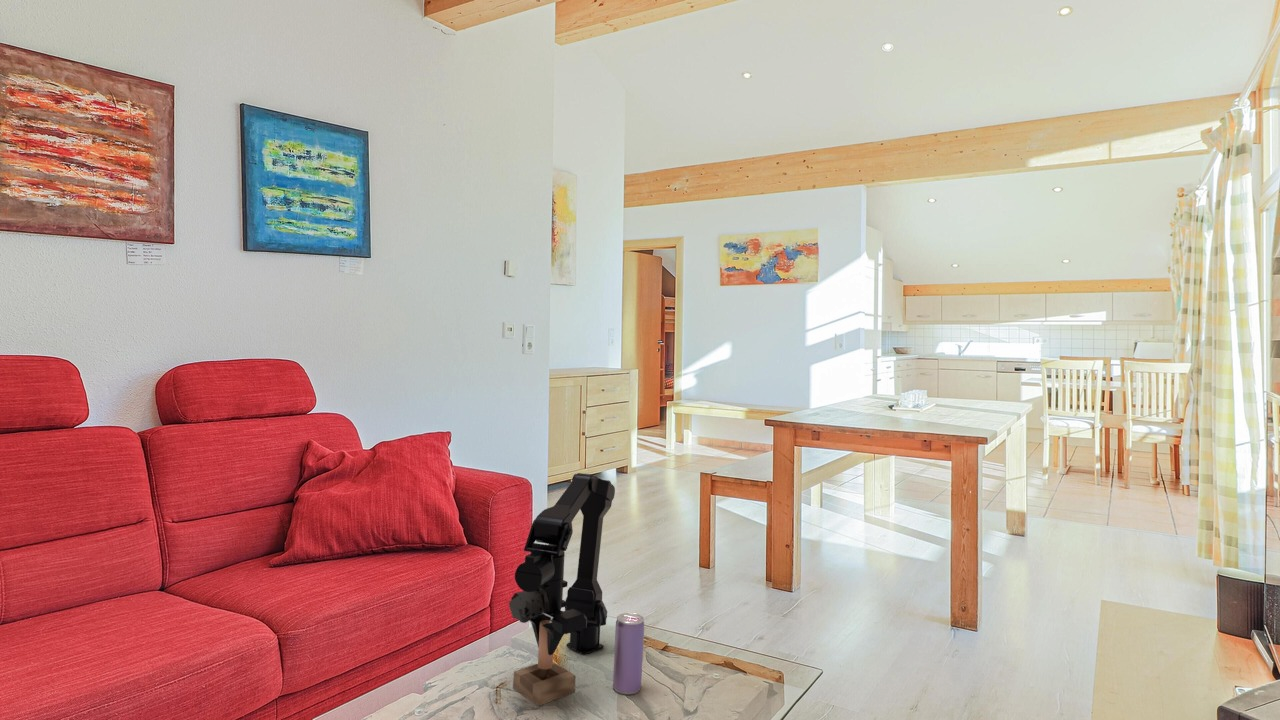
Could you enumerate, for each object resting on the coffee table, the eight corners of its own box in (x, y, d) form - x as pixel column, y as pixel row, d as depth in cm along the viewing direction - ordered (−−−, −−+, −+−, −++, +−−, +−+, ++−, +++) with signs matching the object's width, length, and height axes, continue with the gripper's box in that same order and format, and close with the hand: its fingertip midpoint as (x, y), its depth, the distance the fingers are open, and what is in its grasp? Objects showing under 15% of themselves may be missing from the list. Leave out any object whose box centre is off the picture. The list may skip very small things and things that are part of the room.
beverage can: (637, 697, 148) (641, 624, 147) (609, 693, 149) (613, 621, 149) (643, 684, 154) (647, 614, 153) (616, 680, 155) (619, 610, 154)
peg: (546, 661, 151) (548, 618, 151) (555, 666, 149) (557, 623, 148) (534, 665, 149) (536, 622, 148) (543, 670, 147) (545, 626, 146)
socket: (548, 676, 155) (549, 659, 155) (574, 692, 149) (575, 675, 149) (513, 688, 149) (513, 671, 149) (539, 705, 142) (539, 688, 142)
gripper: (490, 571, 149) (487, 646, 150) (544, 598, 136) (540, 679, 136) (535, 562, 157) (531, 633, 158) (590, 586, 144) (586, 663, 144)
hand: (545, 651), depth 149 cm, fingers closed on peg, 3 cm apart
